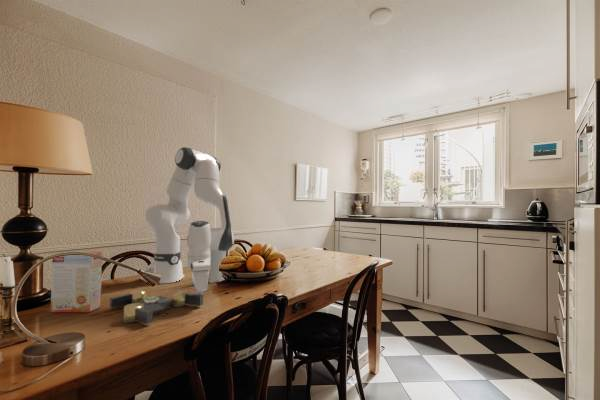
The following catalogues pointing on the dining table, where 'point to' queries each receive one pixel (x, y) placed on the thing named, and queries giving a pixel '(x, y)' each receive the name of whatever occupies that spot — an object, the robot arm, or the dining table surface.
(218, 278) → the tall pale column
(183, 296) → the knob left
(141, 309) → the knob front
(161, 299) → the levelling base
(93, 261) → the cracker box
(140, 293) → the knob back
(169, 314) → the dining table surface
